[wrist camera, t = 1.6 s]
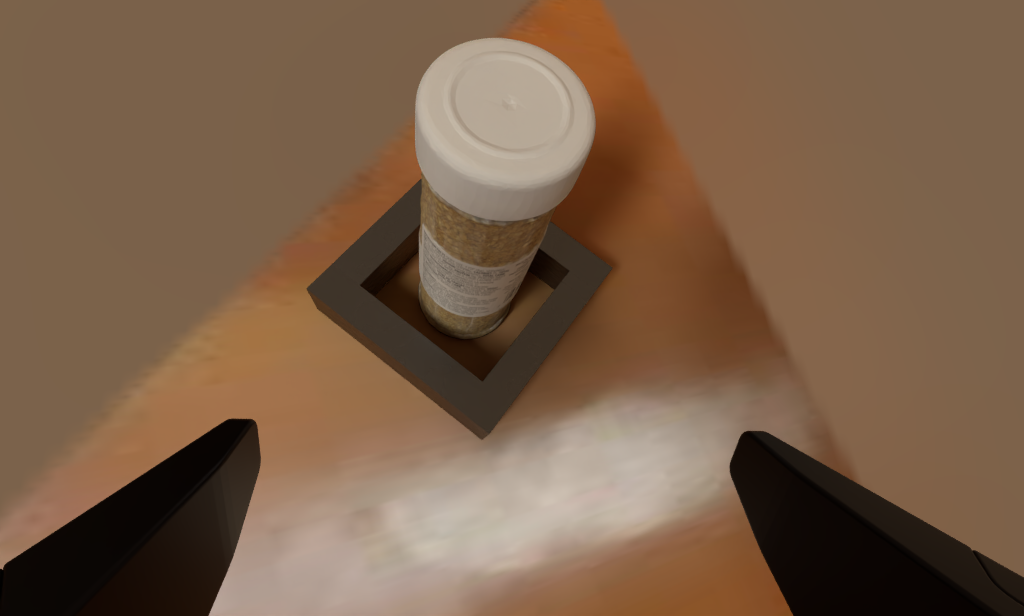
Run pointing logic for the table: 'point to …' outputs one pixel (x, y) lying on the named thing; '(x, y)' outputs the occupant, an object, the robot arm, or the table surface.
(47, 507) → the table surface
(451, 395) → the socket holder
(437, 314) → the sprinkles bottle
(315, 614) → the table surface
